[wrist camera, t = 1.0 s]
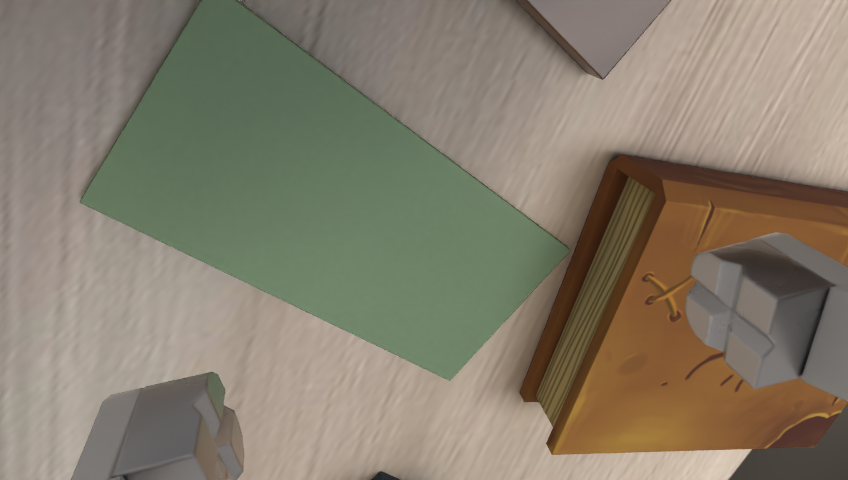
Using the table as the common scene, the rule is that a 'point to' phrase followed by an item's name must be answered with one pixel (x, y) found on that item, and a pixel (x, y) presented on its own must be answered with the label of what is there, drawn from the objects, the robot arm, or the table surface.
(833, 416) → the diary
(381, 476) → the watch
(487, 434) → the table surface
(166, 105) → the mat
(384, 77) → the table surface
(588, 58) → the stand
